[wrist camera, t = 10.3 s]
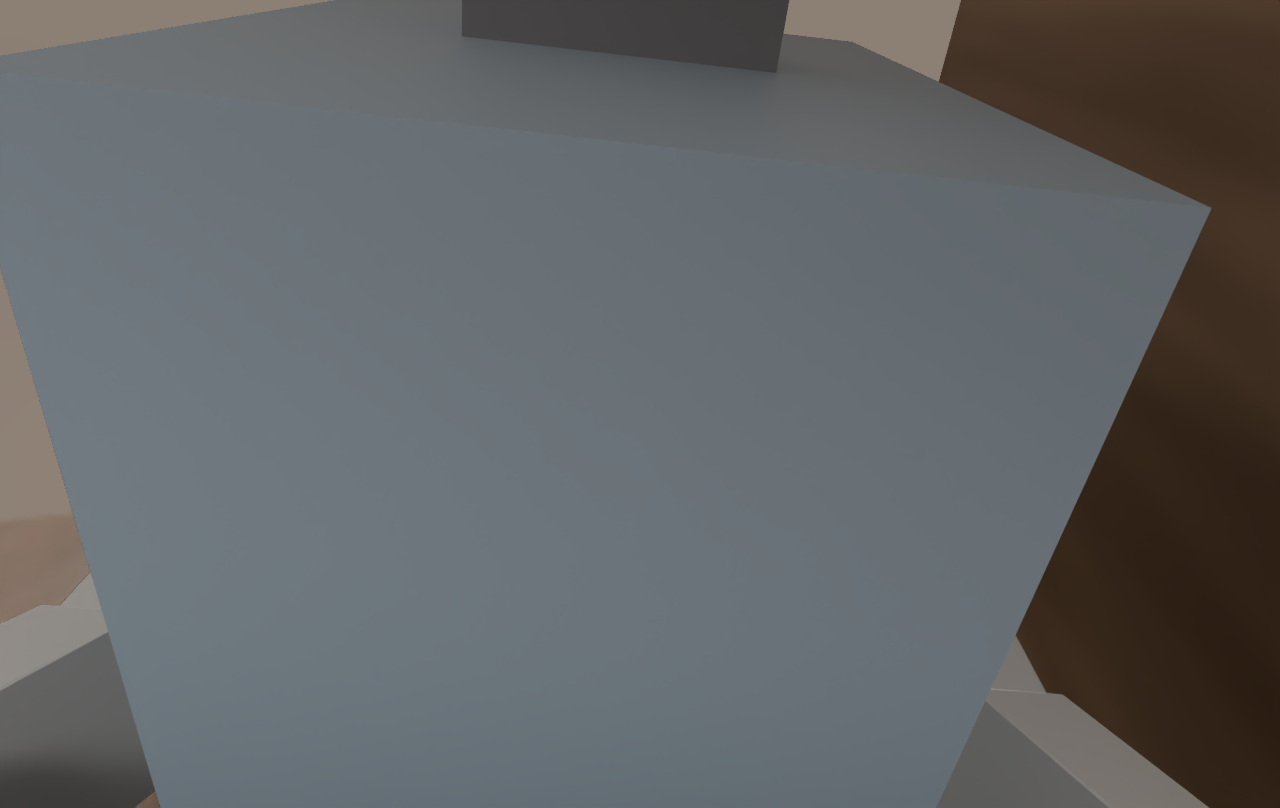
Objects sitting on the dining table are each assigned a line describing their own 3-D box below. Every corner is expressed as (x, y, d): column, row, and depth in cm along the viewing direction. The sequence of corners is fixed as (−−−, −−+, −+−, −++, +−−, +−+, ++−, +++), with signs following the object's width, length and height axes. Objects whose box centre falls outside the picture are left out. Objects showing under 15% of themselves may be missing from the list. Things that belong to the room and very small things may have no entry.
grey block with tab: (306, 1299, 9) (-356, -916, 2) (430, 807, 14) (395, -269, 7) (701, 1319, 9) (1583, -602, 2) (682, 825, 15) (904, -202, 7)
